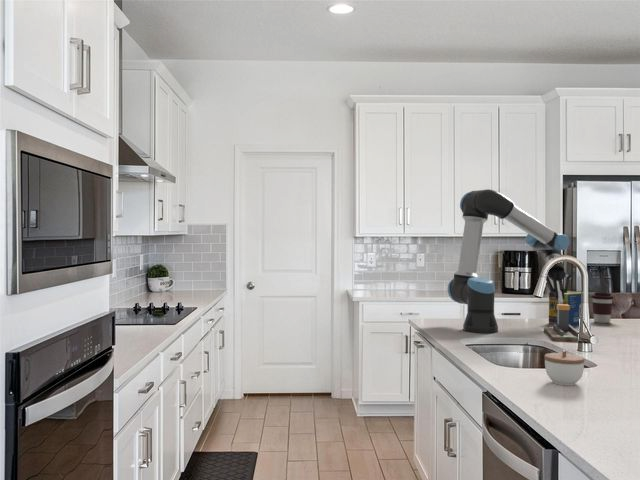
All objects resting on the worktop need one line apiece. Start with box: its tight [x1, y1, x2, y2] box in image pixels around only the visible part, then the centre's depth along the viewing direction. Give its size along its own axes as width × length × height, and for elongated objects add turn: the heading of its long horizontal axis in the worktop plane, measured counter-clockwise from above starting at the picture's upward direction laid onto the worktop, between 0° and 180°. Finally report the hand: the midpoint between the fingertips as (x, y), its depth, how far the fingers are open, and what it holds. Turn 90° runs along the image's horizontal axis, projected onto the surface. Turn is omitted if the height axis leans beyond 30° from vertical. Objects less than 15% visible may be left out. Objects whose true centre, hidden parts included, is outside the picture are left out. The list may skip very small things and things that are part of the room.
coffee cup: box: [590, 291, 614, 324], centre depth 289 cm, size 10×10×15 cm
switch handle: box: [557, 304, 570, 331], centre depth 254 cm, size 5×5×11 cm
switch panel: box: [543, 324, 579, 343], centre depth 247 cm, size 14×26×4 cm, turn 166°
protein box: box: [548, 290, 581, 327], centre depth 283 cm, size 10×15×16 cm
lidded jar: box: [544, 350, 585, 387], centre depth 168 cm, size 11×11×9 cm
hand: (560, 303), depth 265 cm, fingers closed
